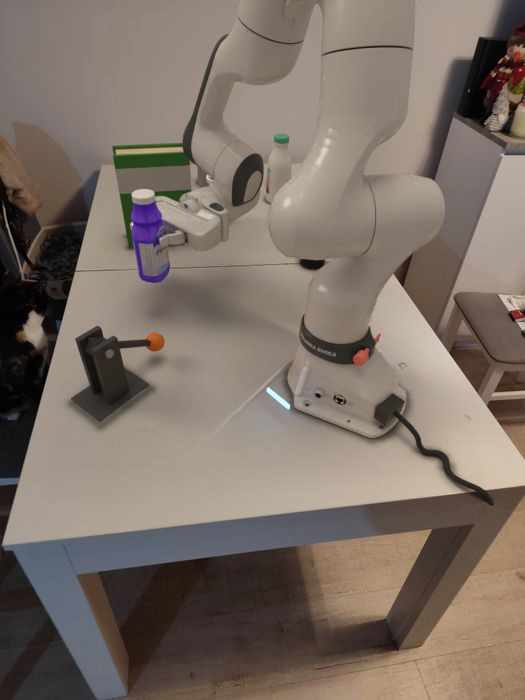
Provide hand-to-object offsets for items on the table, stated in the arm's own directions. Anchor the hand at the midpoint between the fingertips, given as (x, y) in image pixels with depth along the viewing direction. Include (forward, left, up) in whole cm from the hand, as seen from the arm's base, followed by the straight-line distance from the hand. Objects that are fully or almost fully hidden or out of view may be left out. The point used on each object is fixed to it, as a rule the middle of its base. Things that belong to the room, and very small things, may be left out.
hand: (145, 235), depth 84 cm
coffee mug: (+40, -63, -20) cm, 78 cm away
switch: (-11, +16, -13) cm, 23 cm away
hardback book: (+25, -25, -20) cm, 41 cm away
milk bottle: (+16, -68, -20) cm, 73 cm away
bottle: (0, -1, -10) cm, 10 cm away
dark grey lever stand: (-11, +21, -20) cm, 31 cm away
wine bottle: (-14, -42, -20) cm, 49 cm away
